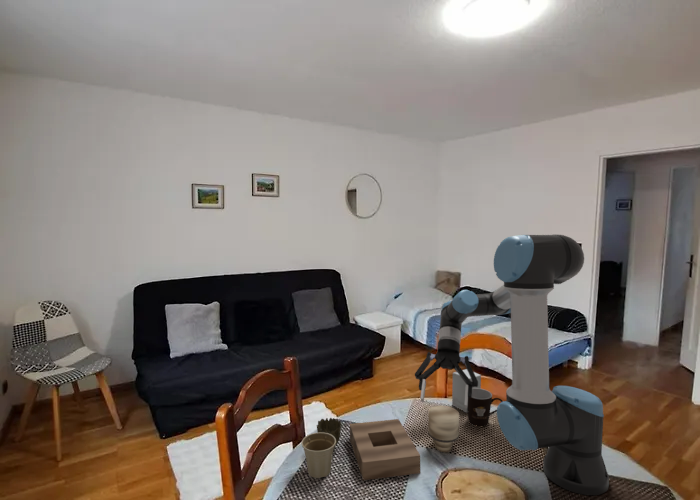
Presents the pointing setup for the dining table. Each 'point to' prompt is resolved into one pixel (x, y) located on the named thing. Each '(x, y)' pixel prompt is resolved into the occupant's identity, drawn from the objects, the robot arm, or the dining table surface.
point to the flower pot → (319, 453)
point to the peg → (443, 427)
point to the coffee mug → (480, 406)
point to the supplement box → (461, 389)
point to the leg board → (383, 449)
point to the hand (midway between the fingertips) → (443, 403)
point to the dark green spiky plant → (330, 427)
